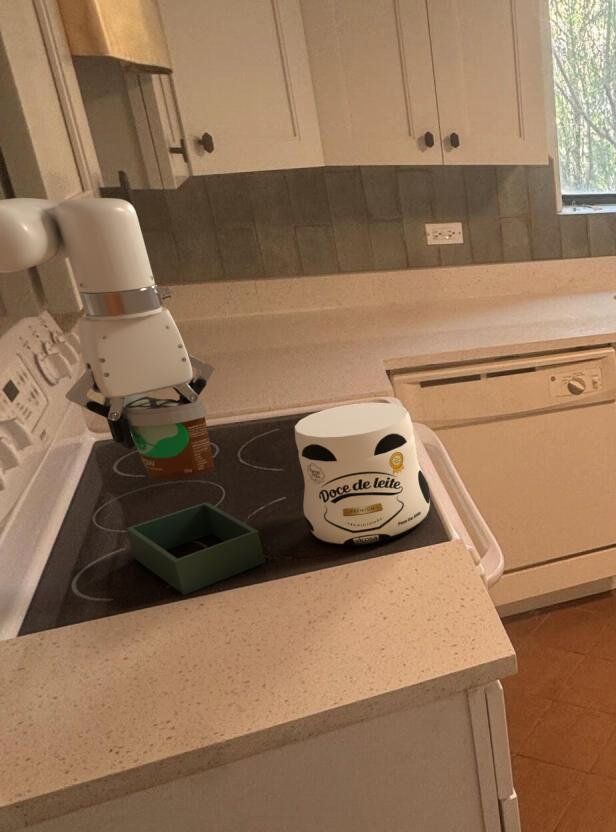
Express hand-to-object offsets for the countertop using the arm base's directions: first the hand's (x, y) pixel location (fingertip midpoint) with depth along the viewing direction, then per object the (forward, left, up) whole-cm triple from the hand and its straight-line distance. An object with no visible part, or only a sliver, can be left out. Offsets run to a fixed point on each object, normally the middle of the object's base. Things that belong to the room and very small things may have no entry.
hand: (160, 436), depth 102 cm
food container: (0, 0, -5) cm, 5 cm away
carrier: (-1, +1, -20) cm, 20 cm away
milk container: (+9, +21, -20) cm, 30 cm away
